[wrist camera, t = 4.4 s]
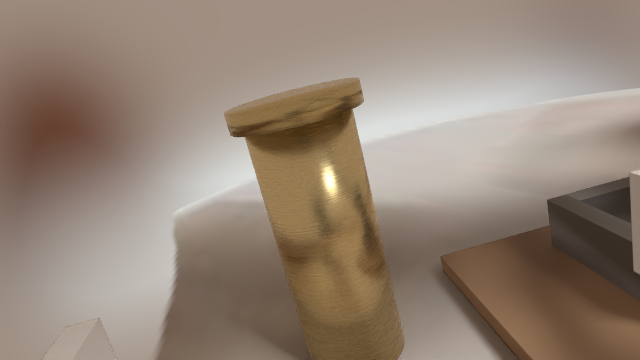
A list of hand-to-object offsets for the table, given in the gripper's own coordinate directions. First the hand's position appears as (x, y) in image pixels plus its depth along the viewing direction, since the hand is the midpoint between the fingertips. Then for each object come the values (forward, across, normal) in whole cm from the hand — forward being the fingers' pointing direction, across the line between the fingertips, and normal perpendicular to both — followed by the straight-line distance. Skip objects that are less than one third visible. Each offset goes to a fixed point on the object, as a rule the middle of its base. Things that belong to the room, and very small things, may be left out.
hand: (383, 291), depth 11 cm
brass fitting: (+12, 0, -10) cm, 15 cm away
